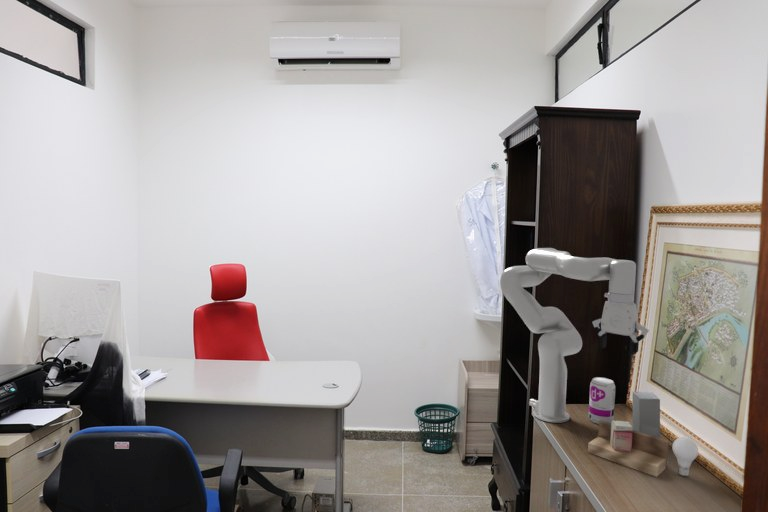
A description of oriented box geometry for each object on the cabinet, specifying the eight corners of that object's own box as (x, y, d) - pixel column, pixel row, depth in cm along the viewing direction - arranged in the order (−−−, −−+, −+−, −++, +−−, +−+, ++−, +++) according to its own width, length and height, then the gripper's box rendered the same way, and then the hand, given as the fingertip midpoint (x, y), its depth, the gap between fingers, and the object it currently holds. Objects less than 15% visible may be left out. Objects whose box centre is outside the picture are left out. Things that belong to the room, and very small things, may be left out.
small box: (614, 450, 153) (615, 425, 153) (609, 444, 158) (611, 419, 157) (631, 452, 153) (633, 426, 152) (627, 445, 157) (628, 421, 156)
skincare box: (660, 448, 162) (663, 400, 161) (636, 445, 164) (639, 398, 163) (652, 437, 171) (655, 391, 169) (629, 435, 172) (632, 389, 171)
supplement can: (602, 427, 178) (604, 385, 177) (583, 418, 185) (585, 378, 184) (618, 423, 182) (620, 382, 181) (599, 415, 189) (601, 375, 188)
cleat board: (587, 452, 159) (589, 427, 158) (599, 444, 164) (600, 420, 164) (656, 476, 144) (658, 449, 144) (667, 467, 150) (668, 440, 149)
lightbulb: (666, 469, 148) (668, 433, 148) (688, 470, 148) (690, 433, 147) (677, 480, 142) (680, 442, 141) (701, 481, 142) (703, 443, 141)
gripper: (589, 296, 167) (586, 347, 168) (645, 303, 154) (642, 358, 156) (599, 294, 172) (596, 343, 173) (654, 300, 159) (650, 354, 161)
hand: (618, 350), depth 164 cm, fingers open, 9 cm apart
